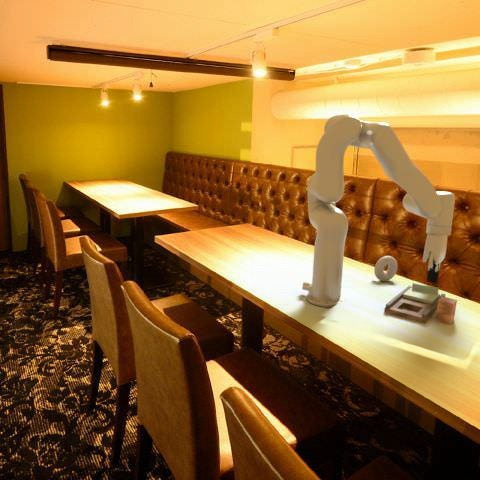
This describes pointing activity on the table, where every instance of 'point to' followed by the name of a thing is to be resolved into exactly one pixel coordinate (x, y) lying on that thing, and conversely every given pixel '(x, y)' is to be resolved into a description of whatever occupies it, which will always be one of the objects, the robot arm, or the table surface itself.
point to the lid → (422, 293)
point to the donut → (390, 271)
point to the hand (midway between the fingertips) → (432, 281)
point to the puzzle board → (411, 307)
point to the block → (446, 310)
